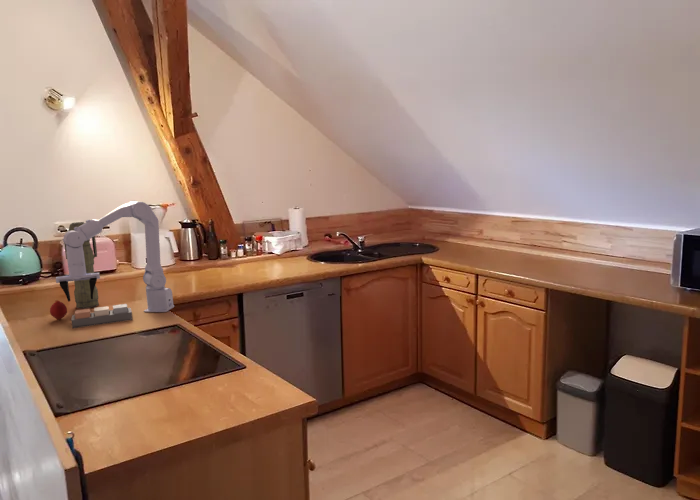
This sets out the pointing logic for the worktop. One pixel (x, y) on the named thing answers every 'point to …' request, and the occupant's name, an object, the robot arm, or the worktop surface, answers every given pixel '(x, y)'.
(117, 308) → the light gray key
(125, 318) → the key panel
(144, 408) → the worktop surface
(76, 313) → the terracotta key
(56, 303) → the onion
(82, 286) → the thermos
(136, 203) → the robot arm
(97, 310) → the cream key
